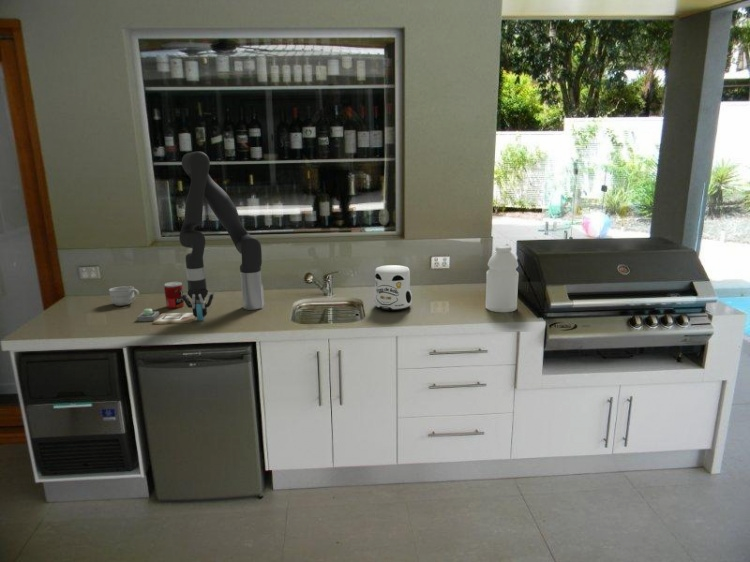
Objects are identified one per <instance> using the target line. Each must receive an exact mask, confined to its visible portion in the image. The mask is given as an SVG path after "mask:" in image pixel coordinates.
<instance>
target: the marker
mask: <svg viewBox="0 0 750 562" xmlns="http://www.w3.org/2000/svg"><path fill="white" fill-rule="evenodd" d="M195 305H196V314H197V317H196V321H199V322H201V321H204V320H205V317H203V311H202V309H203V308H202V304H201V302H200V300H195Z"/></svg>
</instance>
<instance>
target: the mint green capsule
mask: <svg viewBox="0 0 750 562" xmlns="http://www.w3.org/2000/svg"><path fill="white" fill-rule="evenodd" d="M142 312H144V316H152V315H153V312H154V311H153V309H152V308H145V309H143V310H142Z"/></svg>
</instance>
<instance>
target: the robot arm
mask: <svg viewBox="0 0 750 562" xmlns="http://www.w3.org/2000/svg"><path fill="white" fill-rule="evenodd" d="M210 164H211V161H210V157H209V156H208V155H207V154H206V153H205V152H203V151H191V152H188V153H185V154H184V155H183V157H182V159H181V167H182V169H183V170H184V172H185V173H186V174H187V175H188V177H189V178H190V187H189V190H188V193H187V197H186V200H185V205H184V220H183V222H182V226H181V229H180V232H179V235H178V237H179V238H178V239H179V240H178V241H179V243H180V245H181V246H182V247H184V248H190V249H192V250H191V252H190V253H187V254H186V255H185V267H186V281H187V283H186V284H187V289H188V291H187V292H186V293H183V295H182V298H183V300H184V304H185V305H186V307H187V308H189V309H192V313H193V315H194V316H195V317H196V318H197V314H196V305H195V300H200V302H201V304H202V308H203V309H202V311H203V317H204V318H205V317H206V316H207V315H208V311H207V310H208V308H210V306H211V305H212V302H213V299H214V297H215V293H214V292H212V293H211V292H209V290H208V287H207V281H206V280H207V279H206V271H205V266H204V253H205V249H206V238H205V235H204V233H202V231H197V230H195V228H196V227H198V226H200V225H202V223H203V215H204V213H203V211H204V199H205V202H207V204H208V206H209V207H210V209H211V210H212V213H214V215H215V217H216V218H217V219H218V221H219V223H220V224H221V225H222V226H223V228H224V229H225V230H226V231H227V233H228V235H229V237H230V238H231V241H232V243H233V245H234V247H235V248H236V251H237V252H238V253H239V254H241V264H240V265H239V272H240V273H239V275H240V285H241V287H240V288H241V297H242V299H241V300H242V308H243V310H247V311H248V310H249V311H252V310H253V311H254V310H259V309H263V308H264V306H265V295H264V293H265V292H264V285H263V282H262V268H261V267H262V263H263V260H262V257H263V255H262V254H263V253H262V245H261V242H260V240H259V239H258V238H256V237H254V236H252V235H251V234H250V233H249V232H248V231H247V229H246V228H245V227H244V224H242V222H241V219H240V215H239V212H238V210H237V207H236V205H235V204H234V202H233V201H232V199H231V198H230V196H229V194H228V193H227V192H226V191H225V190H224V189H223V188H222V187H220V185H219V184H218V183H217V182H215V180H213V178H212V177H211V175H210V174H209V171H210V166H211V165H210ZM206 297H207V298H208V300H207V302H206ZM189 298H190V299H191V300H190V299H189Z"/></svg>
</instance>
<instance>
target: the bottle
mask: <svg viewBox="0 0 750 562" xmlns="http://www.w3.org/2000/svg"><path fill="white" fill-rule="evenodd" d="M487 267H488V270H486V274H485V275H486V276H485V277H486V284H485V286H486V287H485V289H486V290H485V303H484V304H485V308H486V310H488V311H491V312H496V313H511V312H514V311H516V310H517V309H518V295H519V294H518V293H519V292H518V289H519V275H520V274H519V271H517V268H518V267H519V263H518V259H517V257H515V255H514V254H513V253H512V246H510V245H506V244H505V245H502V244H500V245H496V246H495V252H494V253H493V254H492V255H491V256H490V257H489V259H488V262H487Z"/></svg>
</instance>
